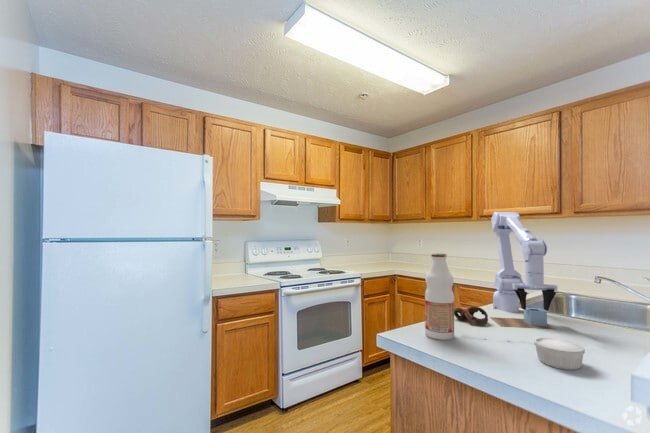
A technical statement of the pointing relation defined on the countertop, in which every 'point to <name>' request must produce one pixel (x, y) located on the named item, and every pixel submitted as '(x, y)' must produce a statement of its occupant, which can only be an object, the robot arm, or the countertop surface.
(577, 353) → the ramekin
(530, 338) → the countertop surface
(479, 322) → the brown curled shape
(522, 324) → the stub board
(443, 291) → the fruit juice
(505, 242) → the robot arm
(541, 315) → the collar
